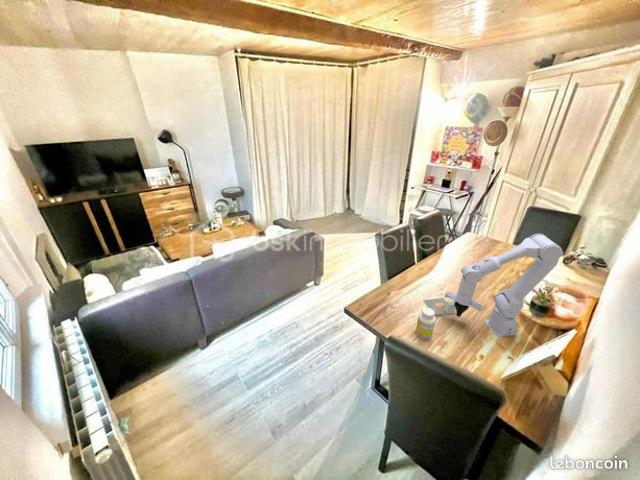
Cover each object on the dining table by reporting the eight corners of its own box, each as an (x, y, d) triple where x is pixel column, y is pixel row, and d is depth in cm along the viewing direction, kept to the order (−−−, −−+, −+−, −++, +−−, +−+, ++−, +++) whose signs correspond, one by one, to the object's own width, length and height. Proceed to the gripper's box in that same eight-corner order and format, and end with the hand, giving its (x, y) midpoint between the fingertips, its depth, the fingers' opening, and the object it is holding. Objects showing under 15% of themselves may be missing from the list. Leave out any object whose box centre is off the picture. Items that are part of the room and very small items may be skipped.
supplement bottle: (418, 325, 110) (423, 303, 105) (433, 332, 106) (439, 310, 101) (413, 335, 106) (417, 312, 100) (428, 342, 102) (434, 319, 96)
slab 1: (443, 314, 116) (445, 306, 113) (435, 315, 115) (437, 306, 113) (440, 310, 118) (442, 302, 115) (432, 311, 117) (434, 303, 115)
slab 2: (454, 312, 116) (457, 304, 114) (447, 313, 116) (449, 305, 114) (451, 309, 118) (454, 301, 116) (444, 310, 118) (446, 302, 116)
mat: (457, 315, 115) (457, 314, 115) (435, 317, 114) (435, 317, 114) (442, 298, 126) (443, 298, 126) (422, 300, 125) (422, 300, 125)
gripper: (487, 293, 102) (479, 318, 108) (450, 280, 111) (444, 303, 117) (483, 302, 98) (475, 327, 104) (445, 287, 107) (439, 311, 113)
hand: (458, 315), depth 110 cm, fingers closed
